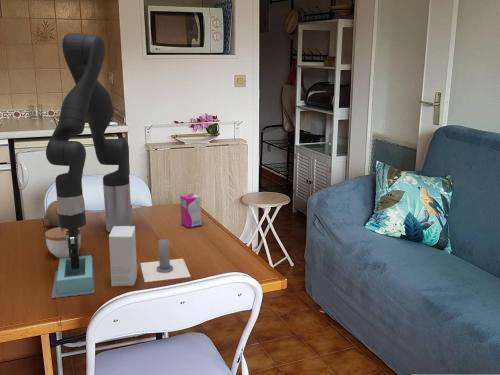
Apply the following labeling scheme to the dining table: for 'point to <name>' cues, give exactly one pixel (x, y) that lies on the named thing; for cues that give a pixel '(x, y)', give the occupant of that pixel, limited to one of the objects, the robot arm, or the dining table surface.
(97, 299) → the dining table surface
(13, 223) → the dining table surface
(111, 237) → the skincare box
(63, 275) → the teal link
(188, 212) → the supplement box
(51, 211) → the natural sponge
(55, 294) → the grey mat
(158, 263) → the post stand
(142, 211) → the dining table surface
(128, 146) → the robot arm
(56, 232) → the lidded jar
